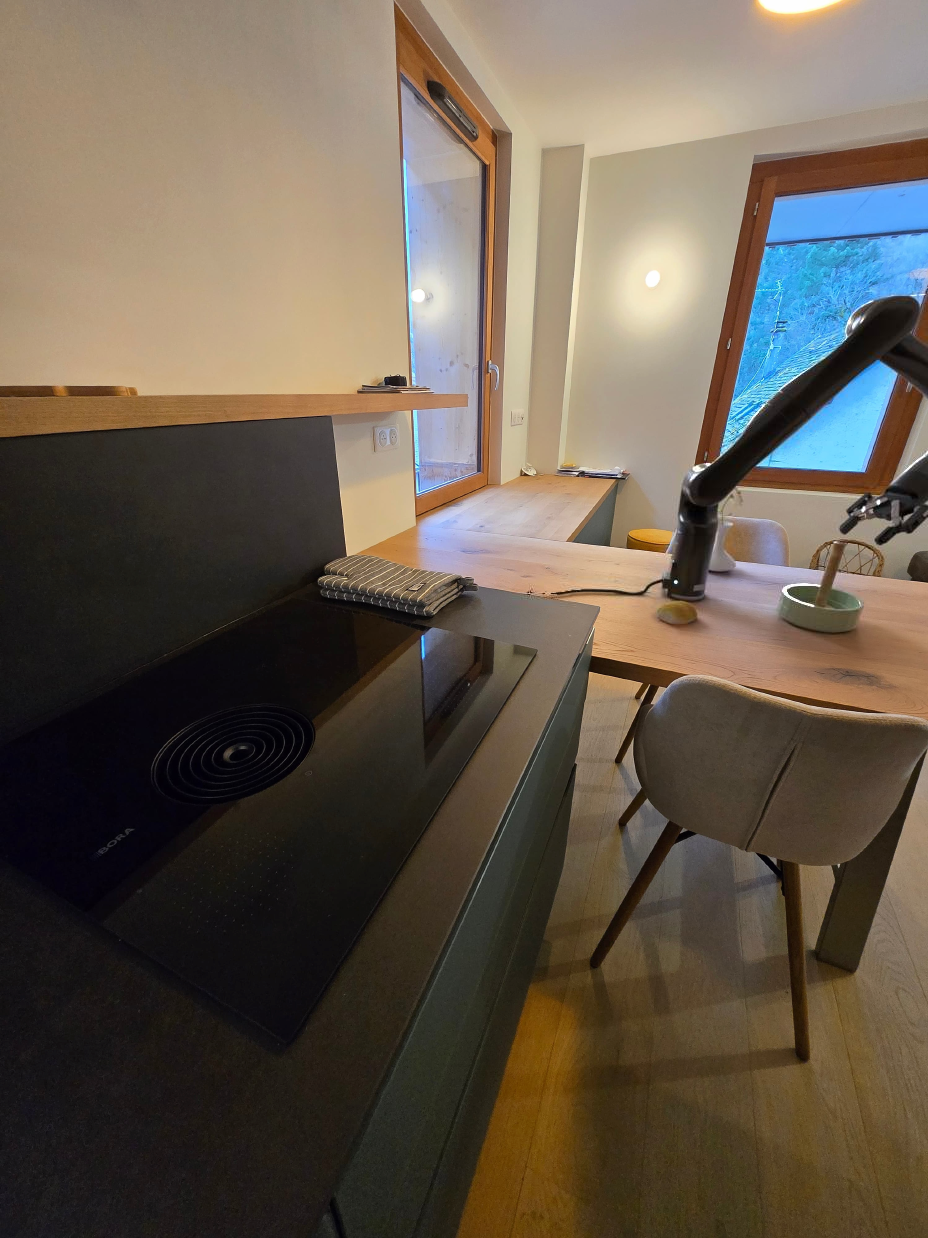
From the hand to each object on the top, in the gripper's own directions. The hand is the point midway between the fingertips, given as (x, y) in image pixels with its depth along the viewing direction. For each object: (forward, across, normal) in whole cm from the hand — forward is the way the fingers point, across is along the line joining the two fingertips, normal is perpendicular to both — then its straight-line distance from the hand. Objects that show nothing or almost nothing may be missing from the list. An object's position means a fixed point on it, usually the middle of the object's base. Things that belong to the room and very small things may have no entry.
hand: (858, 537), depth 108 cm
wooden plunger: (+17, 0, +10) cm, 19 cm away
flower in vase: (+17, -38, +11) cm, 43 cm away
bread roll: (+39, -9, -11) cm, 42 cm away
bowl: (+17, 0, +11) cm, 20 cm away
